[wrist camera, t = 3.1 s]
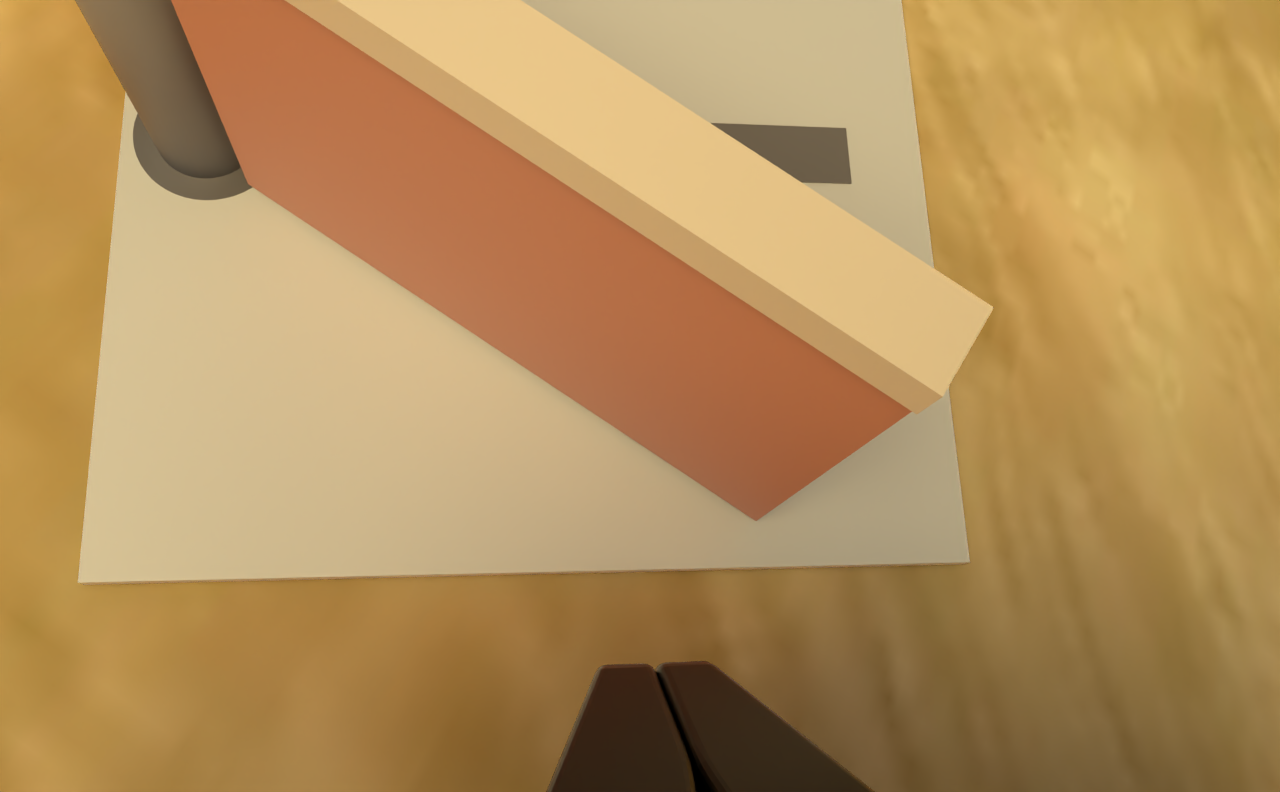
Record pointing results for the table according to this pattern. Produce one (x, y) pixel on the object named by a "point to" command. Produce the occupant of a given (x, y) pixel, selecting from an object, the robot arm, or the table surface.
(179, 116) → the fixed fence
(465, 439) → the card
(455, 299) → the fence panel
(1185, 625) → the table surface
